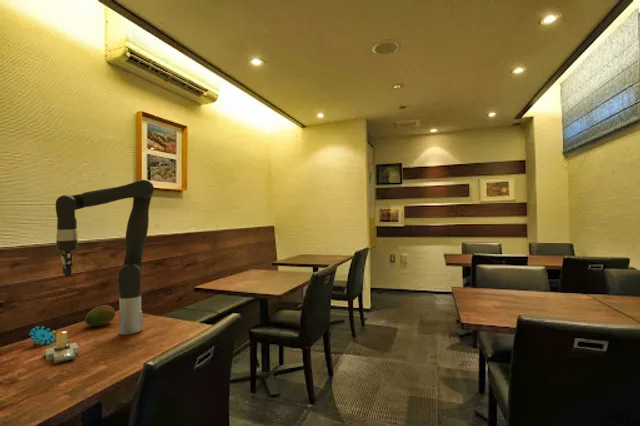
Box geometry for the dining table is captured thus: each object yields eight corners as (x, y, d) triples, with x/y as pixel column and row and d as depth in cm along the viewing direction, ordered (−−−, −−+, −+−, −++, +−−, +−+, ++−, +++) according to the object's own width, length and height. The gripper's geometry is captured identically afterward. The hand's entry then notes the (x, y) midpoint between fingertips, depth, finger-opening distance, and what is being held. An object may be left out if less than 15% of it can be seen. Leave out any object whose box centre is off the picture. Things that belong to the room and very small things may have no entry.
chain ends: (73, 343, 143) (73, 337, 143) (81, 358, 127) (81, 351, 127) (44, 349, 136) (44, 343, 136) (48, 367, 120) (48, 359, 120)
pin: (66, 351, 134) (66, 330, 134) (67, 354, 132) (67, 332, 132) (55, 354, 132) (56, 332, 132) (56, 356, 129) (56, 334, 129)
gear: (38, 345, 137) (26, 327, 139) (28, 355, 137) (16, 337, 139) (62, 339, 148) (51, 322, 150) (53, 348, 148) (42, 331, 150)
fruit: (119, 322, 172) (119, 303, 172) (98, 330, 159) (98, 310, 160) (101, 320, 174) (101, 302, 174) (79, 328, 162) (79, 308, 162)
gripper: (79, 239, 143) (79, 276, 143) (75, 238, 153) (75, 272, 153) (57, 240, 138) (57, 278, 138) (55, 239, 148) (55, 274, 148)
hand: (67, 275), depth 145 cm, fingers open, 8 cm apart
